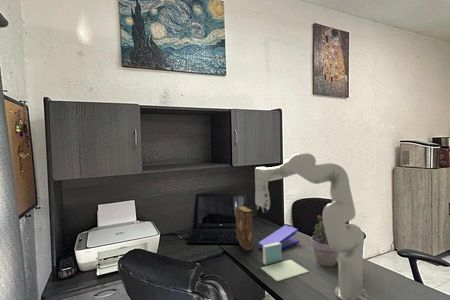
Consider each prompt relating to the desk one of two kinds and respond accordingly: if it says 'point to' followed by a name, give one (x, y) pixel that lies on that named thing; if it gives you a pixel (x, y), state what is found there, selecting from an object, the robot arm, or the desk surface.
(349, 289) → the robot arm
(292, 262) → the desk mat
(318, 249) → the potted plant
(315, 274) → the desk surface
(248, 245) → the book
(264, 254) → the tile
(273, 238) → the stapler
